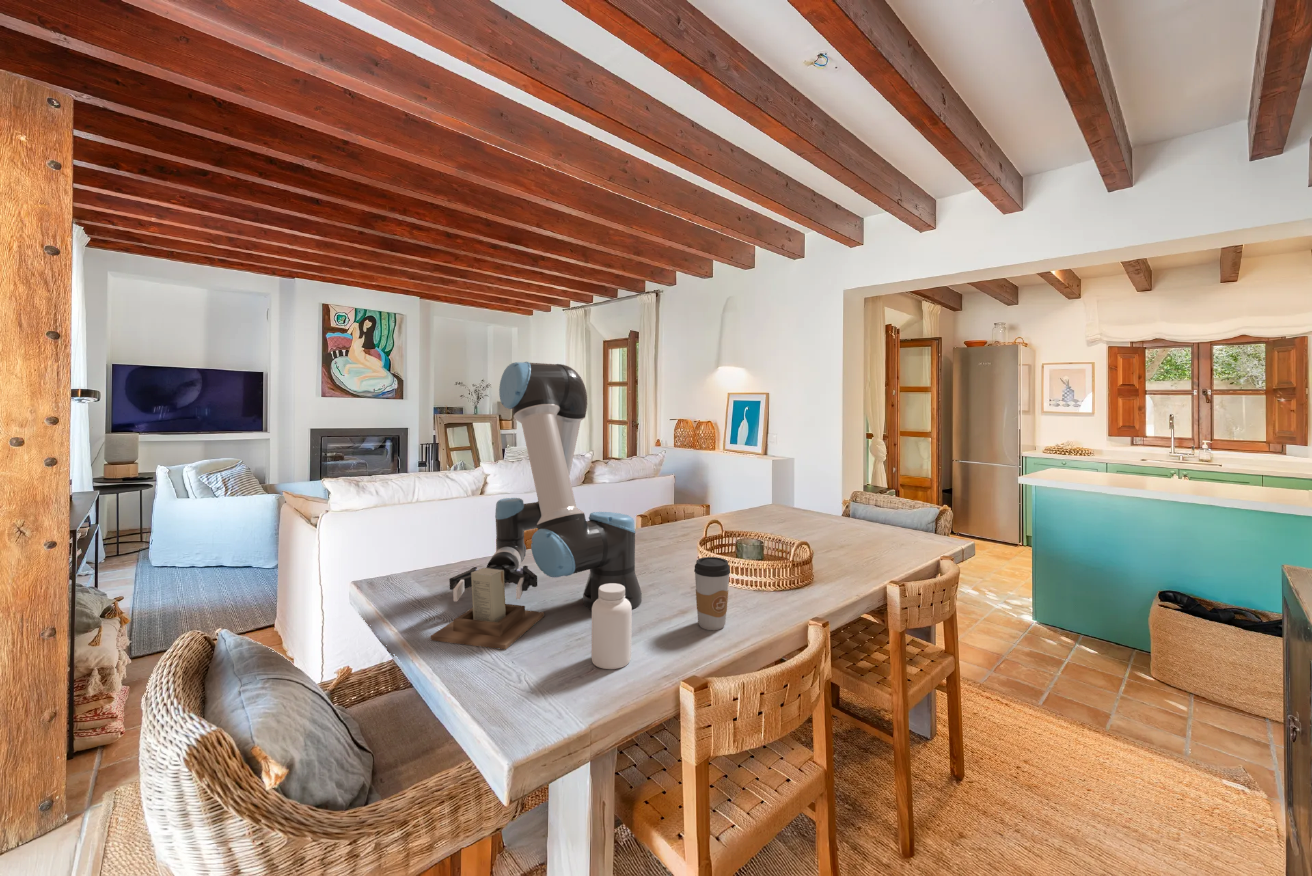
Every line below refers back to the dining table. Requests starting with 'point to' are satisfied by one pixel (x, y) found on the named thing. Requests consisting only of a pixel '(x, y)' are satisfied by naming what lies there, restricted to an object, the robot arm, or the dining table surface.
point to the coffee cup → (712, 591)
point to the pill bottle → (611, 627)
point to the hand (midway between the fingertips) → (486, 594)
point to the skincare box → (488, 595)
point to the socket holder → (489, 628)
